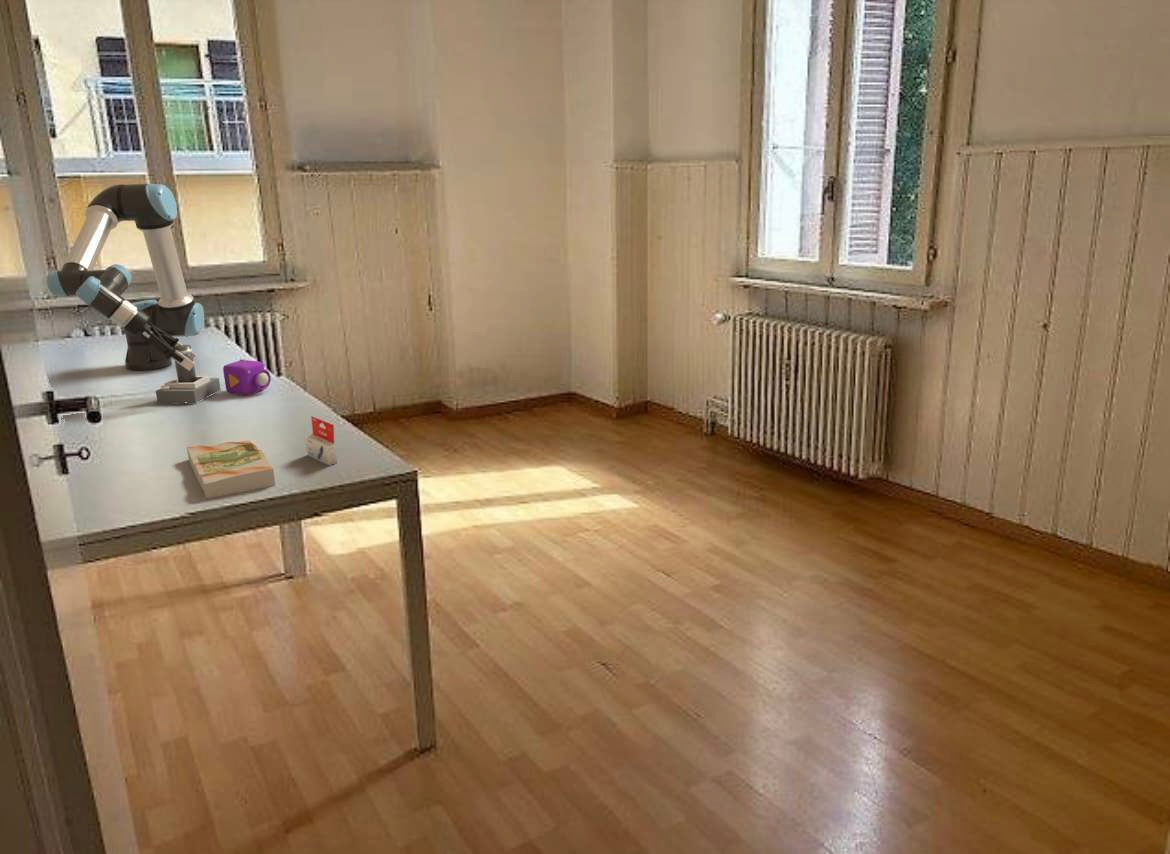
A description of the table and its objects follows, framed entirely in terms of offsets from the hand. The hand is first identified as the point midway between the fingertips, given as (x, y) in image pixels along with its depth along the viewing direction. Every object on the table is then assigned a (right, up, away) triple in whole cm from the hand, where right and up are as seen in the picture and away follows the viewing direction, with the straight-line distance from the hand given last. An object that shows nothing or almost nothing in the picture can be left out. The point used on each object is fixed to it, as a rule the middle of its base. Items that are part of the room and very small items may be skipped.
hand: (193, 362), depth 268 cm
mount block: (-2, -10, +2) cm, 11 cm away
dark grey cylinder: (-2, -7, +1) cm, 7 cm away
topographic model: (+38, -31, -64) cm, 80 cm away
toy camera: (+15, -9, +7) cm, 19 cm away
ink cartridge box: (+57, -28, -56) cm, 85 cm away
